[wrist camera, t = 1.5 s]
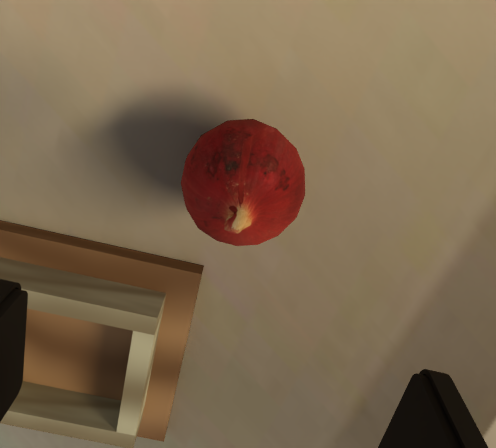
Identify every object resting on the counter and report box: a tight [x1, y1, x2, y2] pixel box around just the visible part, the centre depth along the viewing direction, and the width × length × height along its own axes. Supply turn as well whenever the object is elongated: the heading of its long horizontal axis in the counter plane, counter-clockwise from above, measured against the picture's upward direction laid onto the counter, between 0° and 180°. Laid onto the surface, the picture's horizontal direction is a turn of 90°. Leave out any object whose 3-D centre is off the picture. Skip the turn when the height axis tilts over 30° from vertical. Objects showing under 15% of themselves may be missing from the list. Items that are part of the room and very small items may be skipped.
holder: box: [0, 221, 204, 448], centre depth 29 cm, size 14×14×4 cm
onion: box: [181, 119, 305, 246], centre depth 22 cm, size 6×6×8 cm
